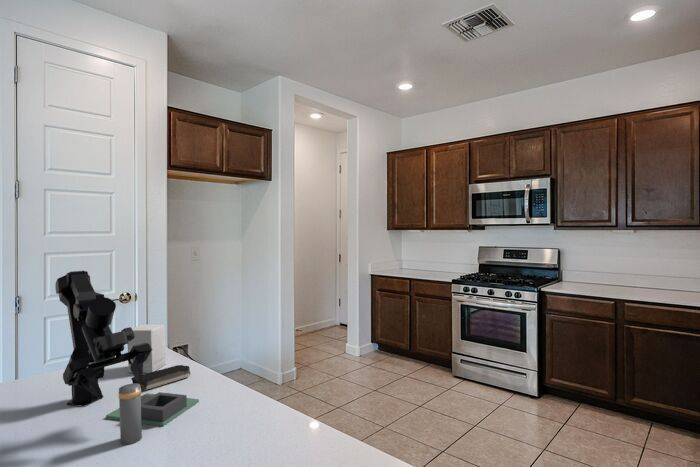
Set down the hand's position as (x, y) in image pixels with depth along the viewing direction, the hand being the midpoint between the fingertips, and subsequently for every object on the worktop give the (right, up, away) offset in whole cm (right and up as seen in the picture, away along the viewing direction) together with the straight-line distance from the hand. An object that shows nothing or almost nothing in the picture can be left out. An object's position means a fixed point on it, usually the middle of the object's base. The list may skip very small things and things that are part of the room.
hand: (122, 391), depth 95 cm
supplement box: (-17, -10, +45) cm, 49 cm away
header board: (+1, -10, +13) cm, 17 cm away
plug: (+3, -11, -2) cm, 11 cm away
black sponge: (-6, -11, +33) cm, 35 cm away
